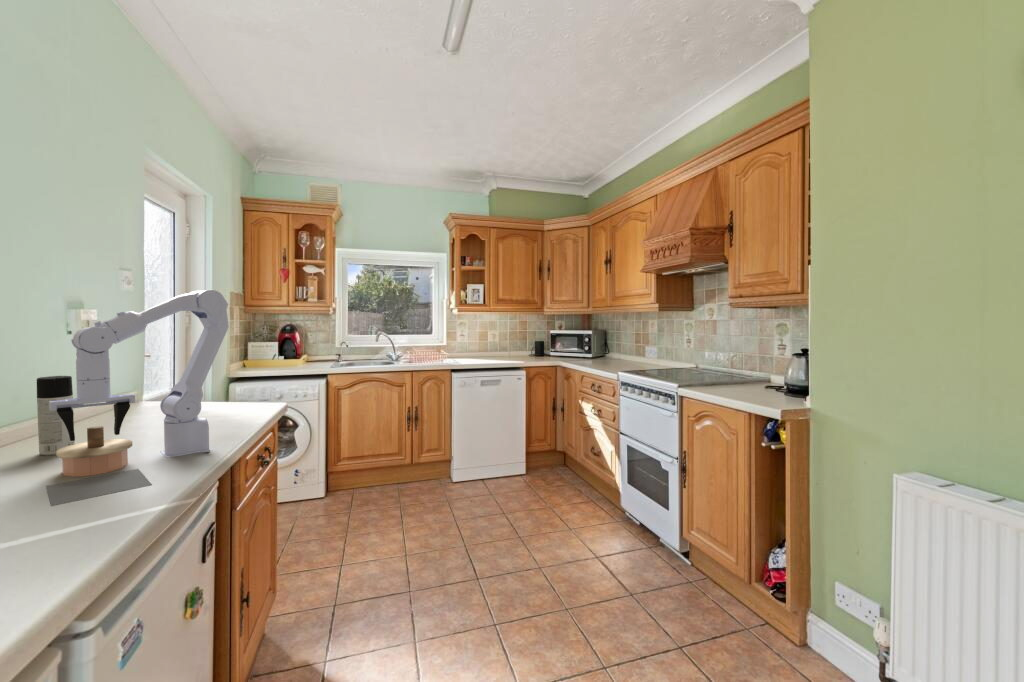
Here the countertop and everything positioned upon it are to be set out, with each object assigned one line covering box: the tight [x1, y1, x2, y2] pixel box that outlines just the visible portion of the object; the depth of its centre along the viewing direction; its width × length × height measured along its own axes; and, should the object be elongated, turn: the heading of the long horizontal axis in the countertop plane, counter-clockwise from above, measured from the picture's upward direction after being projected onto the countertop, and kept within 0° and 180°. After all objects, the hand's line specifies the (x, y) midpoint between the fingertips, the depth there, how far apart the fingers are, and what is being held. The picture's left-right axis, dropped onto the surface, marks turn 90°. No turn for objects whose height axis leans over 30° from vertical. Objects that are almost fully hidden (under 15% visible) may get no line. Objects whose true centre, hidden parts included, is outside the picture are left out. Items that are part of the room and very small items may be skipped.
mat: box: [45, 468, 153, 507], centre depth 95 cm, size 15×15×1 cm
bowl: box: [61, 449, 129, 478], centre depth 106 cm, size 11×11×5 cm
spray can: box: [36, 375, 76, 456], centre depth 119 cm, size 7×7×20 cm
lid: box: [56, 425, 133, 459], centre depth 105 cm, size 13×13×5 cm
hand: (95, 437), depth 105 cm, fingers open, 7 cm apart
